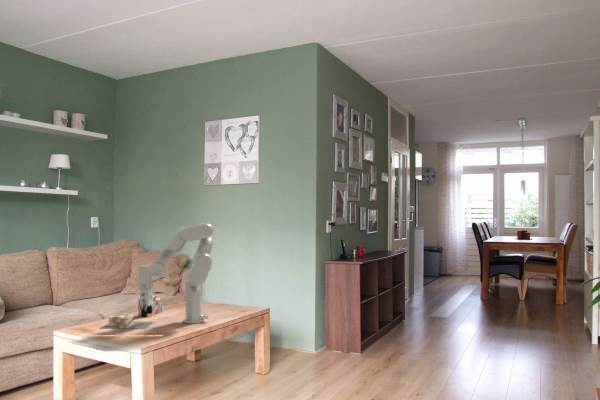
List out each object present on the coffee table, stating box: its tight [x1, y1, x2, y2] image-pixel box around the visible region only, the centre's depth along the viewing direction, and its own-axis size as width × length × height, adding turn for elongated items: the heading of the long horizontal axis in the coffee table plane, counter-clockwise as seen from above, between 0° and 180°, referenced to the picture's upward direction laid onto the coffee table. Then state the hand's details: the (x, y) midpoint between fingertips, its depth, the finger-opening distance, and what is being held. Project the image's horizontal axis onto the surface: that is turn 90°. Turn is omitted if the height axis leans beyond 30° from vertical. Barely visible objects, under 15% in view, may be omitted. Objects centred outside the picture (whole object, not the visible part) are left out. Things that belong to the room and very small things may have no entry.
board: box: [99, 321, 155, 330], centre depth 288 cm, size 26×18×1 cm
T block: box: [108, 313, 134, 328], centre depth 288 cm, size 12×12×5 cm
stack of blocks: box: [137, 295, 163, 318], centre depth 321 cm, size 21×6×12 cm, turn 171°
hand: (146, 315), depth 290 cm, fingers open, 9 cm apart
